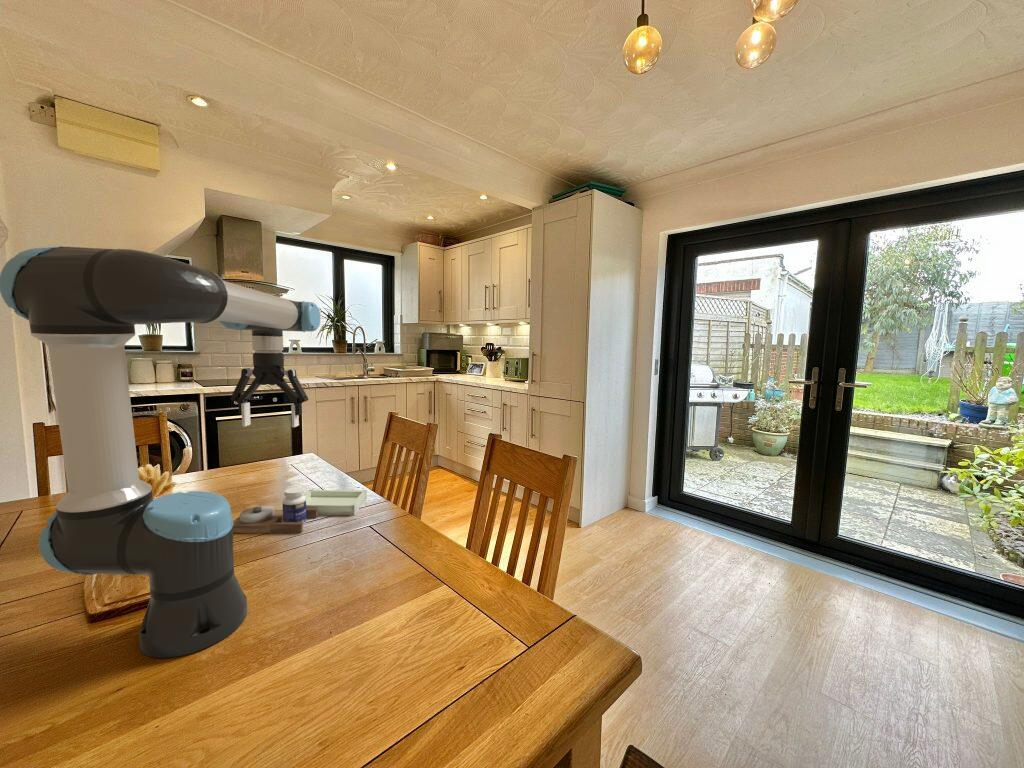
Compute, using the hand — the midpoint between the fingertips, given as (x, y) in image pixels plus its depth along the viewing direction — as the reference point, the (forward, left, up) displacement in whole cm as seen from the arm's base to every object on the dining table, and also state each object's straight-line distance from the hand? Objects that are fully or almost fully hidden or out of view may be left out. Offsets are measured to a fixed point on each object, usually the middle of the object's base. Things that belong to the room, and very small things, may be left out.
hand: (271, 426), depth 117 cm
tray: (+4, -15, -26) cm, 30 cm away
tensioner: (-8, -4, -26) cm, 27 cm away
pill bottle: (-8, -10, -26) cm, 29 cm away
